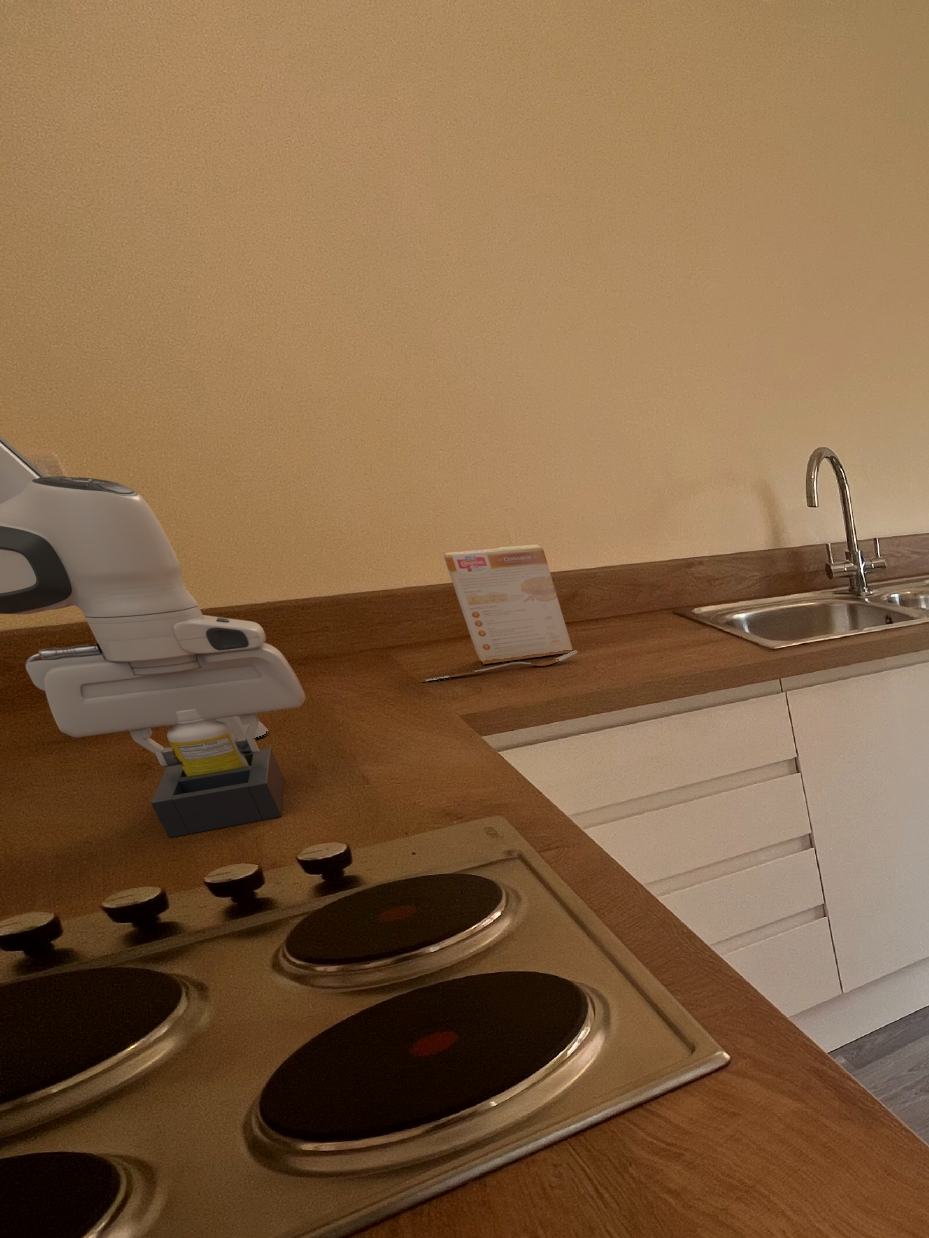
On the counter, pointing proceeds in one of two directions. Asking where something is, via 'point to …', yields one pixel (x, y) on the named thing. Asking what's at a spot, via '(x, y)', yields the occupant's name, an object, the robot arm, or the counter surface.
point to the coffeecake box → (508, 601)
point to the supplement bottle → (204, 744)
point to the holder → (219, 796)
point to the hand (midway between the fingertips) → (212, 758)
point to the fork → (518, 663)
